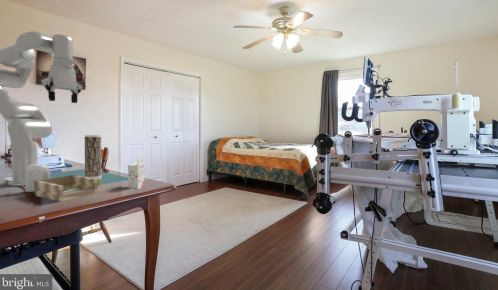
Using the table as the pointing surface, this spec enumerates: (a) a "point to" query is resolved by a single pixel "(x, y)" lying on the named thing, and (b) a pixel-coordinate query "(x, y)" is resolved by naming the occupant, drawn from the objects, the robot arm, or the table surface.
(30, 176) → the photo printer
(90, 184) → the tan open tray
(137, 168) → the ink cartridge box
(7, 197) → the table surface
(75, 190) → the sage offcut
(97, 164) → the bark covered post
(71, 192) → the grey MDF offcut
